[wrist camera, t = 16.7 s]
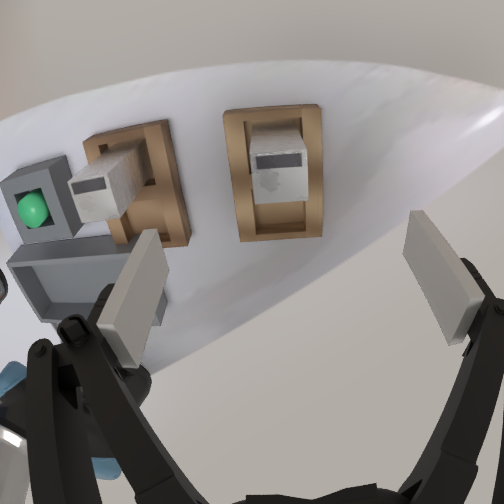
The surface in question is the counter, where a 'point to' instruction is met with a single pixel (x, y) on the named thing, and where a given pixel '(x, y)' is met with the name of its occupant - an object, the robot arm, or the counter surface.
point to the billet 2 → (278, 163)
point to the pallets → (238, 146)
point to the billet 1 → (111, 181)
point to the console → (56, 195)
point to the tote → (71, 275)
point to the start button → (33, 208)
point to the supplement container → (3, 286)
